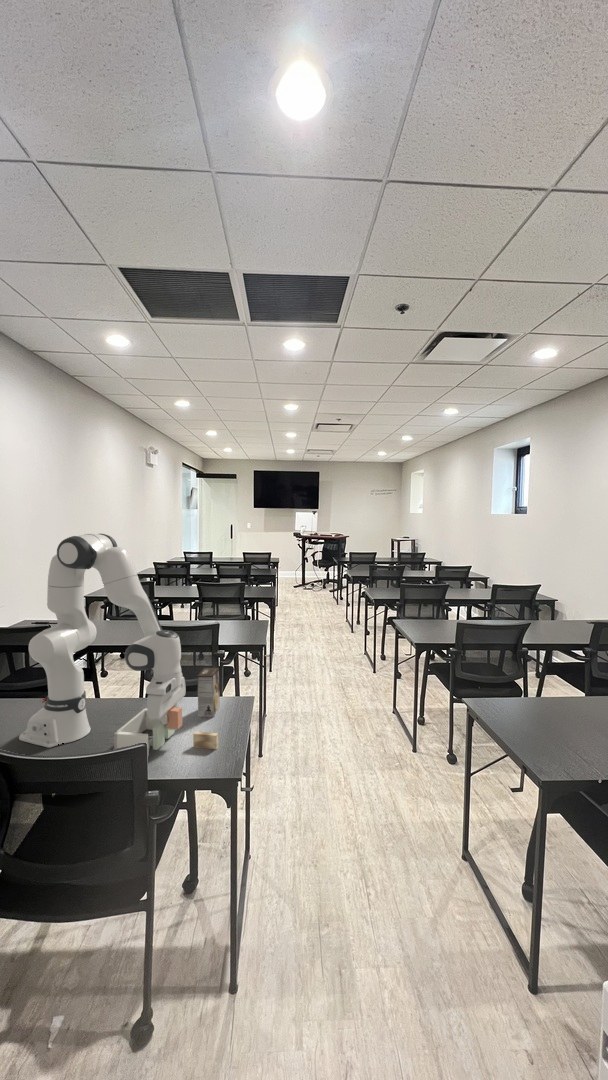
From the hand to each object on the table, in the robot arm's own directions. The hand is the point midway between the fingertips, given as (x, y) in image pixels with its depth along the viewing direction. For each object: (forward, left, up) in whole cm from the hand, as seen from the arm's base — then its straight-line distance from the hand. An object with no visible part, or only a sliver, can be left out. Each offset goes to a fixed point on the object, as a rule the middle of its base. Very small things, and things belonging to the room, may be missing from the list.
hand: (168, 720), depth 150 cm
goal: (-8, 0, -8) cm, 12 cm away
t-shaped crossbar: (+1, 0, -7) cm, 7 cm away
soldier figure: (-5, +1, -8) cm, 10 cm away
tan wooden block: (+13, 0, -8) cm, 15 cm away
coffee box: (+4, +25, -8) cm, 27 cm away
